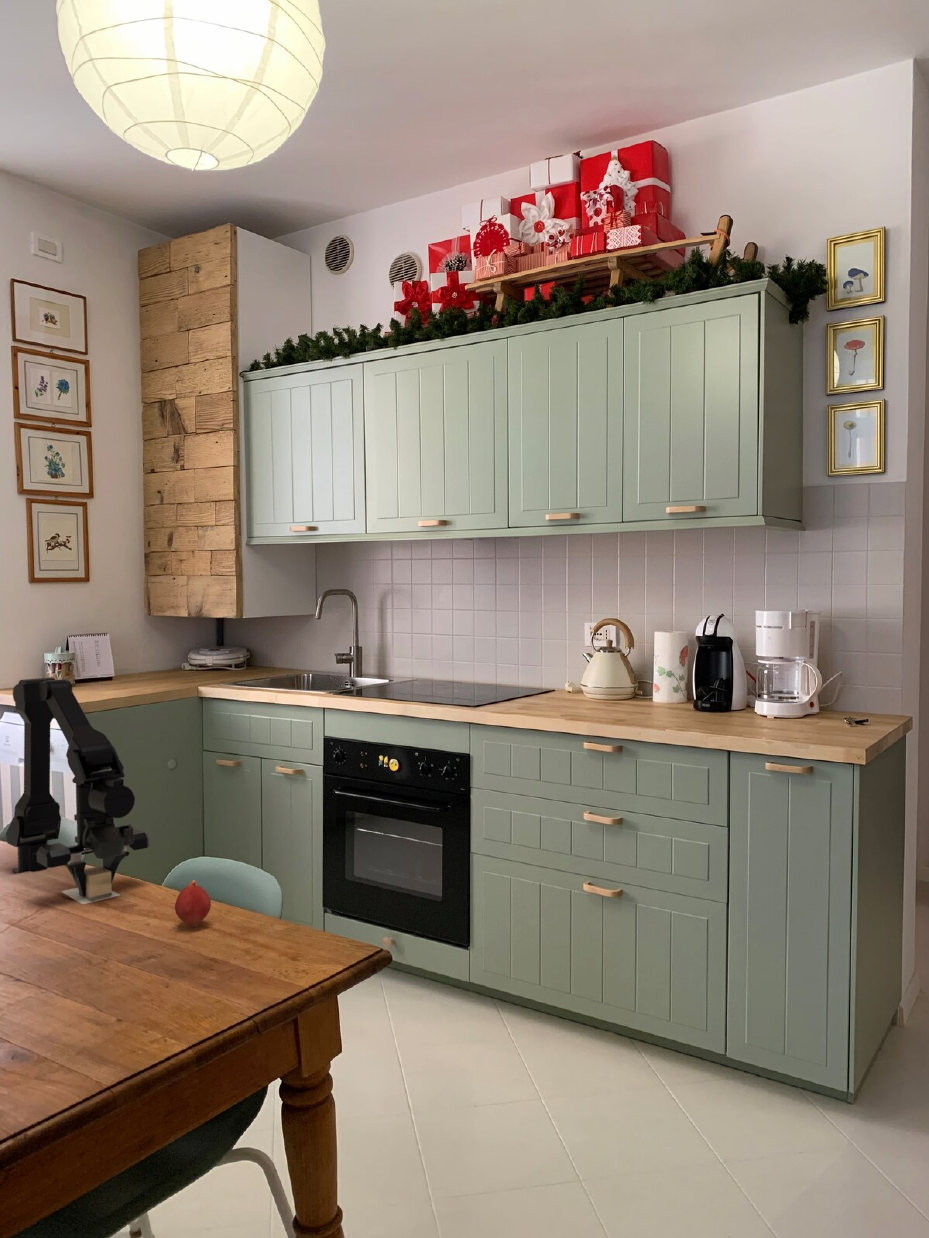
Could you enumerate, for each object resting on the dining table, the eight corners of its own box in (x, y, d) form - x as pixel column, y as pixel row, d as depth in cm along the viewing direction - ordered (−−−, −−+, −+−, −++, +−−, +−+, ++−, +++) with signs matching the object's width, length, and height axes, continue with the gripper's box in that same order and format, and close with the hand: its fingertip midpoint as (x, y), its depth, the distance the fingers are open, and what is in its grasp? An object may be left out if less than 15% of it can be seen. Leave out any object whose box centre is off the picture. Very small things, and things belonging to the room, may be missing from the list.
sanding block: (79, 894, 173) (78, 870, 173) (100, 889, 176) (99, 865, 176) (89, 900, 170) (89, 876, 169) (111, 895, 172) (111, 871, 172)
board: (61, 896, 175) (61, 891, 175) (98, 887, 180) (98, 882, 180) (82, 909, 168) (82, 903, 168) (120, 900, 173) (120, 894, 173)
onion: (168, 930, 157) (167, 883, 157) (188, 919, 163) (187, 873, 163) (198, 934, 156) (197, 886, 155) (217, 922, 161) (216, 876, 161)
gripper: (58, 826, 160) (60, 916, 160) (161, 807, 173) (163, 891, 173) (34, 815, 168) (36, 901, 168) (135, 798, 181) (136, 878, 181)
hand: (95, 893), depth 173 cm, fingers closed on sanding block, 4 cm apart
